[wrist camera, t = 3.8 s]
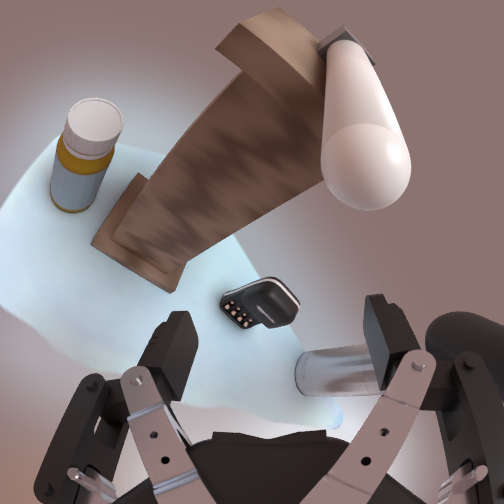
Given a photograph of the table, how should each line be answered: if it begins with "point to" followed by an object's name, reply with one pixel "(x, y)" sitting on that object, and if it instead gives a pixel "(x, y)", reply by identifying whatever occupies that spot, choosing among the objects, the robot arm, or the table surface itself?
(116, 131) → the bottle
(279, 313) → the battery charger
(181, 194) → the pedestal
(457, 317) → the robot arm
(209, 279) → the table surface
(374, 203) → the hammer
